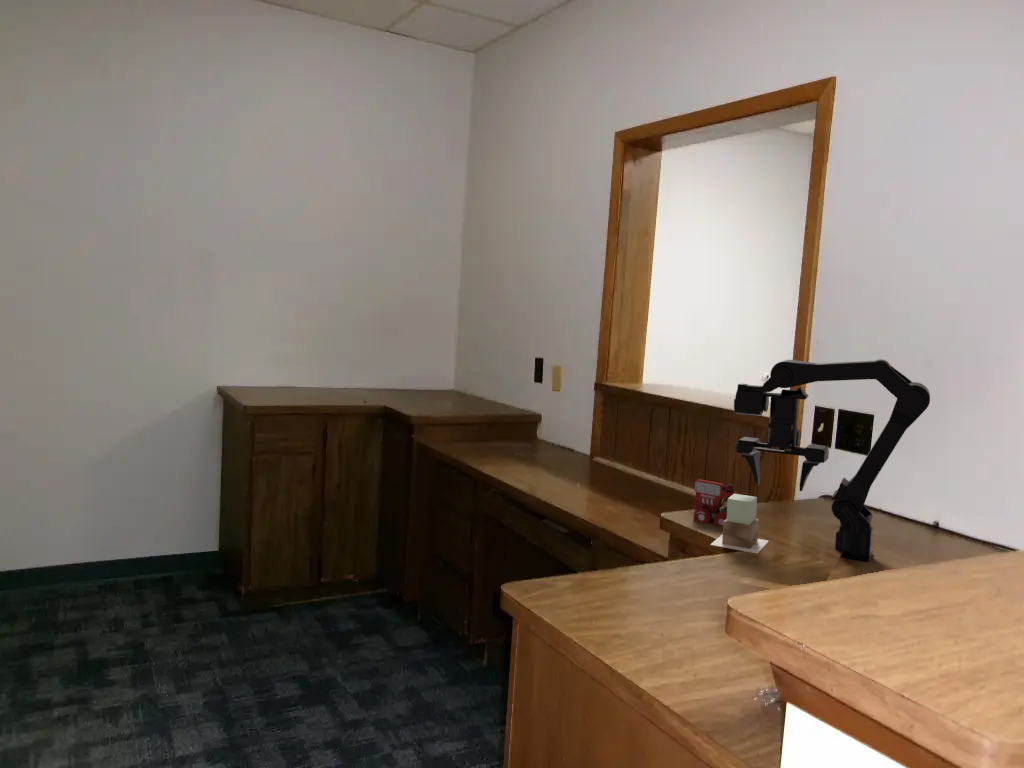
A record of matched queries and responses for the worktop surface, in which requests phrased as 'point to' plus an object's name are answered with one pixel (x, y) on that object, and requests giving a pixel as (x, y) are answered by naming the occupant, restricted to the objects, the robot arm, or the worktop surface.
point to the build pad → (754, 549)
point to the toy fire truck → (711, 501)
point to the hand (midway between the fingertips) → (779, 487)
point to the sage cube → (741, 509)
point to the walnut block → (740, 534)
